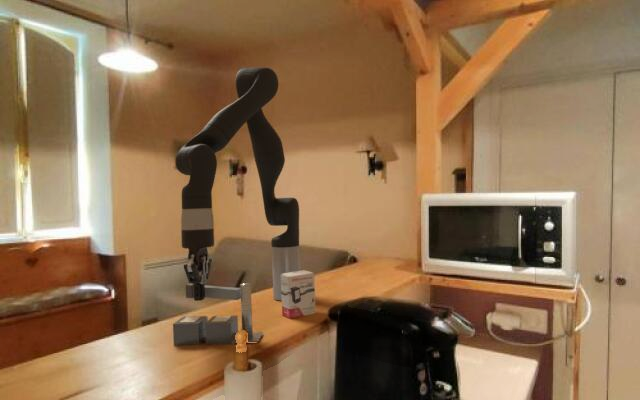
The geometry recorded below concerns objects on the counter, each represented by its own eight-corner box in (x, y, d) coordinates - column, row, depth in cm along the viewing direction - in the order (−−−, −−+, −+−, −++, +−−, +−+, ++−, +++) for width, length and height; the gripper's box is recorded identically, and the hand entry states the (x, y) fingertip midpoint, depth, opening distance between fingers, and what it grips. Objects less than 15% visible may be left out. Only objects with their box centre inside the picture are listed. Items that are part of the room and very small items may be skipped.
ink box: (290, 319, 111) (288, 275, 111) (281, 315, 115) (279, 273, 115) (316, 313, 115) (314, 271, 115) (307, 309, 119) (305, 269, 119)
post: (238, 335, 99) (236, 281, 99) (262, 334, 98) (260, 281, 98) (231, 344, 93) (229, 287, 93) (257, 343, 92) (255, 286, 92)
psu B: (184, 337, 100) (183, 315, 100) (208, 336, 99) (207, 315, 99) (173, 345, 94) (172, 323, 94) (199, 345, 93) (198, 322, 93)
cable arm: (242, 299, 98) (242, 286, 98) (235, 302, 95) (235, 288, 95) (194, 295, 105) (193, 282, 105) (186, 297, 102) (185, 284, 102)
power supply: (214, 336, 99) (213, 315, 99) (238, 335, 99) (237, 314, 99) (205, 345, 93) (204, 322, 93) (231, 344, 93) (230, 321, 93)
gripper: (203, 228, 91) (205, 305, 91) (221, 226, 105) (223, 294, 104) (170, 229, 92) (172, 306, 91) (192, 227, 105) (194, 294, 104)
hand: (199, 299), depth 98 cm, fingers closed
